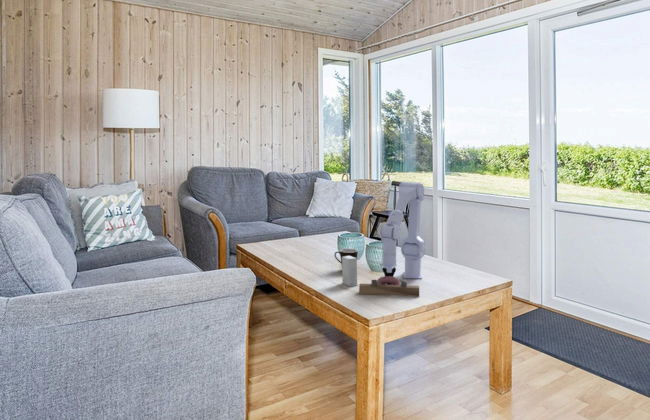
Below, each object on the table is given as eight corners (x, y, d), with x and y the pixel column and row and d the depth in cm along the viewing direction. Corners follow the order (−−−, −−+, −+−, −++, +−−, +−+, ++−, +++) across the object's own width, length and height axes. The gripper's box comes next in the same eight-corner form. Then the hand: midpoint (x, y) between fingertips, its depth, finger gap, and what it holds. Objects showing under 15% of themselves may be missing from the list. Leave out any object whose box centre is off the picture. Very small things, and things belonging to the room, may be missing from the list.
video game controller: (400, 293, 189) (400, 277, 192) (400, 292, 185) (400, 275, 187) (376, 293, 191) (376, 276, 193) (376, 291, 186) (376, 274, 189)
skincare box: (357, 285, 197) (357, 258, 195) (348, 286, 195) (349, 259, 193) (350, 281, 202) (350, 255, 200) (341, 283, 200) (341, 256, 198)
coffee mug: (361, 271, 219) (361, 251, 217) (346, 274, 214) (346, 253, 213) (347, 266, 228) (347, 246, 227) (333, 268, 224) (333, 248, 223)
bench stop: (359, 291, 188) (359, 278, 187) (418, 294, 185) (418, 280, 184) (359, 293, 185) (359, 280, 184) (419, 296, 182) (419, 283, 181)
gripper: (380, 249, 198) (379, 279, 200) (379, 257, 184) (379, 289, 186) (396, 249, 197) (395, 280, 199) (397, 257, 183) (396, 290, 185)
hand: (388, 284), depth 193 cm, fingers closed
